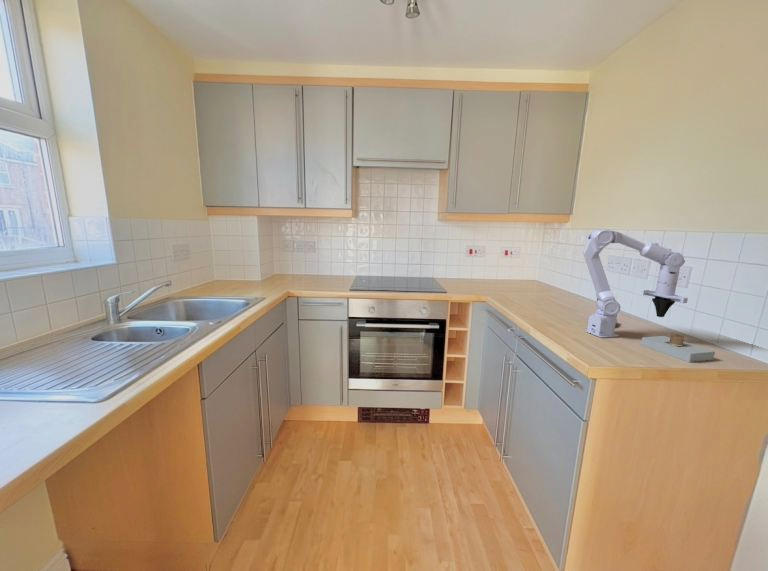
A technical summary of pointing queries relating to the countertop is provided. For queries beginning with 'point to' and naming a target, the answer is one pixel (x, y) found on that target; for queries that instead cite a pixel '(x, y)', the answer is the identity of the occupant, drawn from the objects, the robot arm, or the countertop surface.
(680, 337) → the walnut peg
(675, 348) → the grey board
